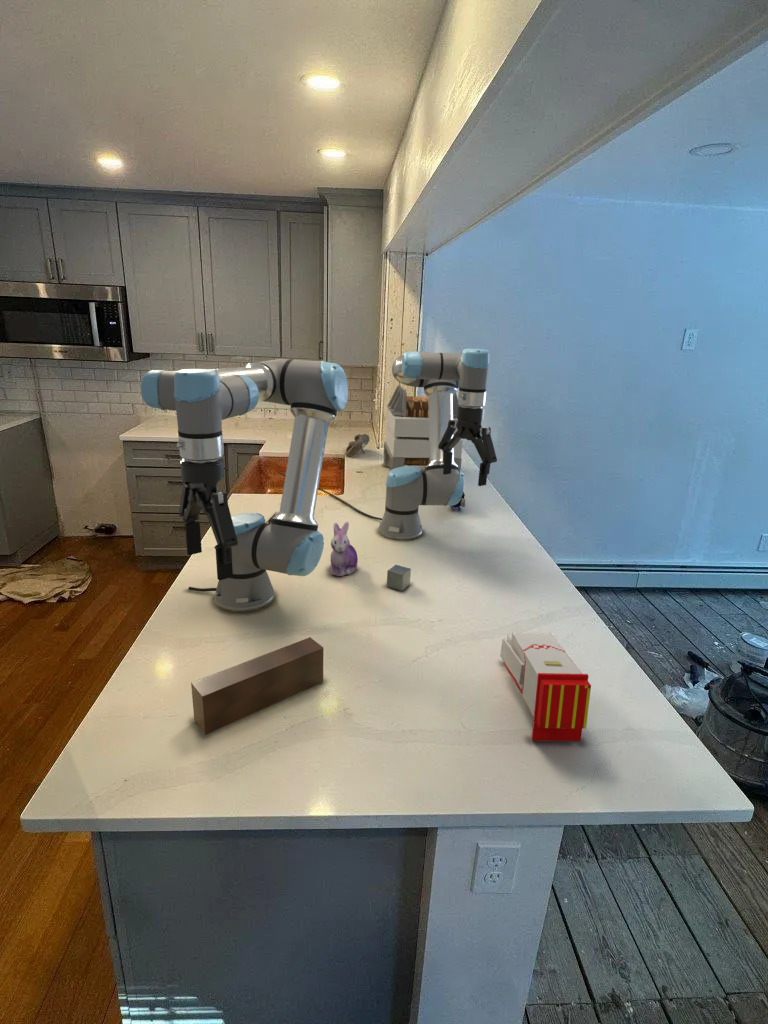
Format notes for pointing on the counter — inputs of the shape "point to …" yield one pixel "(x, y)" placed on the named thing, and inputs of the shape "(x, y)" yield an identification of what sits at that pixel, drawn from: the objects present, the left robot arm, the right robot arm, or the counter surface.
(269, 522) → the feather
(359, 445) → the fossil
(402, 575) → the grey block
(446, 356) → the right robot arm
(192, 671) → the counter surface
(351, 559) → the figurine
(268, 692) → the walnut bar
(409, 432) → the grey slatted crate
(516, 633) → the toy
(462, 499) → the figurine character
